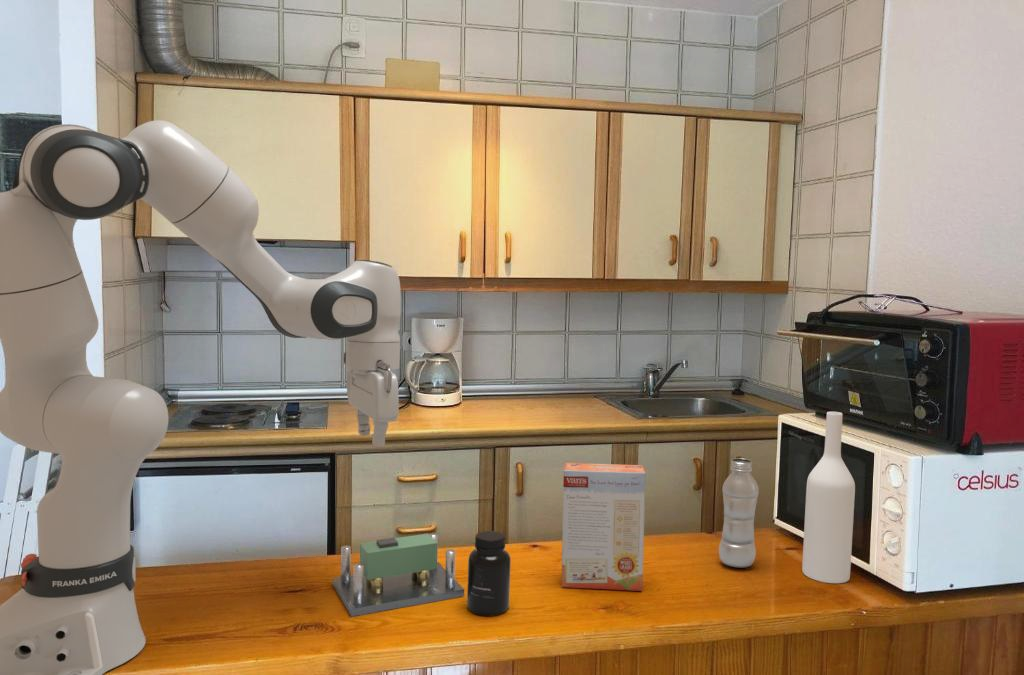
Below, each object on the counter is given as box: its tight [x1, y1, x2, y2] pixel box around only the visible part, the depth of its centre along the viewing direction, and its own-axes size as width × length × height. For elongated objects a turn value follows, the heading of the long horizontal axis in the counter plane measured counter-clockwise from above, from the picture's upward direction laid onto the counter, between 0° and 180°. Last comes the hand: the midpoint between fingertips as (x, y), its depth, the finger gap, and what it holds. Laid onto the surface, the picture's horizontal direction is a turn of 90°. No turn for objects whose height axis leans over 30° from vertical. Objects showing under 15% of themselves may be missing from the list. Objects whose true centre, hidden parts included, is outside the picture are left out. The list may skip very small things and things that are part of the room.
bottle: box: [801, 411, 856, 584], centre depth 136 cm, size 8×8×30 cm
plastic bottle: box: [718, 457, 760, 569], centre depth 140 cm, size 6×7×20 cm
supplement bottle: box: [466, 530, 512, 616], centre depth 121 cm, size 7×7×12 cm
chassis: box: [332, 532, 465, 617], centre depth 127 cm, size 19×13×7 cm
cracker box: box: [561, 462, 646, 592], centre depth 131 cm, size 14×6×21 cm, turn 84°
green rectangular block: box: [359, 533, 437, 580], centre depth 127 cm, size 12×5×5 cm, turn 116°
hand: (370, 440), depth 127 cm, fingers open, 8 cm apart
